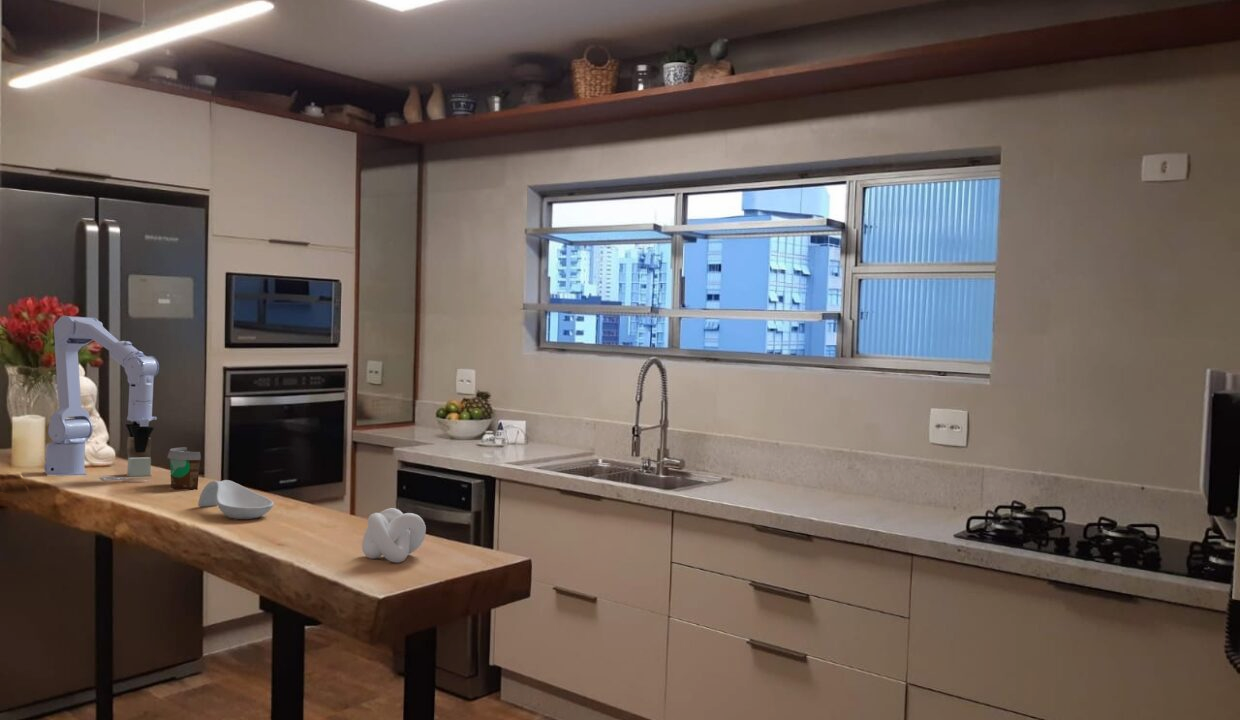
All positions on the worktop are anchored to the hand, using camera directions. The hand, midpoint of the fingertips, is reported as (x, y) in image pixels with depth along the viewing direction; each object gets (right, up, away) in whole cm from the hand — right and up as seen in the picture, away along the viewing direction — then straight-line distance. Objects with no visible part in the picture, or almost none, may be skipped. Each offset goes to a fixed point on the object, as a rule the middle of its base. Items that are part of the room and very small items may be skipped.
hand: (138, 451), depth 244 cm
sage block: (-5, -8, +10) cm, 14 cm away
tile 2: (-5, -8, +10) cm, 14 cm away
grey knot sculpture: (+86, -13, -73) cm, 113 cm away
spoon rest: (+41, -11, -37) cm, 56 cm away
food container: (+14, -9, -6) cm, 18 cm away
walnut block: (0, -2, 0) cm, 2 cm away
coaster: (0, -8, 0) cm, 8 cm away
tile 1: (-8, -8, +2) cm, 11 cm away
